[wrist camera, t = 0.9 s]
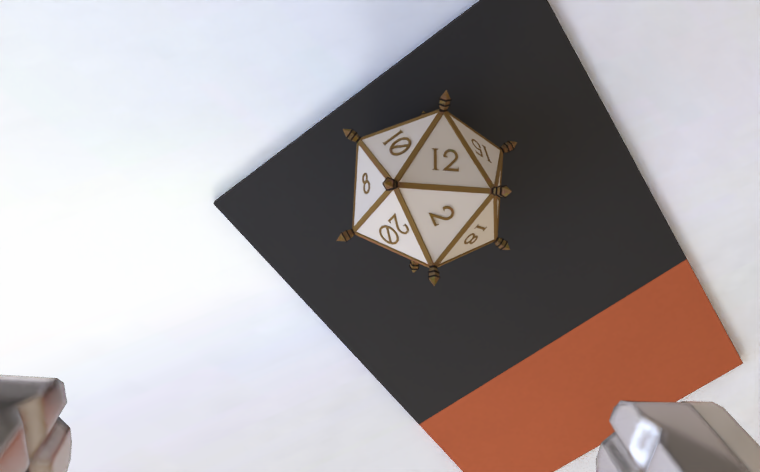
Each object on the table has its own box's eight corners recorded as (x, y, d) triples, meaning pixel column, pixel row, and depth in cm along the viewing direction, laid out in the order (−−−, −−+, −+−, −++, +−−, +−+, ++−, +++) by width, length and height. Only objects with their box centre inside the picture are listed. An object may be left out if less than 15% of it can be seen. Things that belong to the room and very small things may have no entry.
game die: (416, 178, 35) (424, 334, 30) (305, 115, 30) (293, 290, 25) (542, 105, 29) (577, 282, 25) (432, 12, 24) (449, 212, 19)
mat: (214, 201, 31) (213, 203, 31) (525, -35, 28) (528, -36, 27) (492, 501, 42) (494, 505, 42) (739, 359, 39) (743, 363, 39)
